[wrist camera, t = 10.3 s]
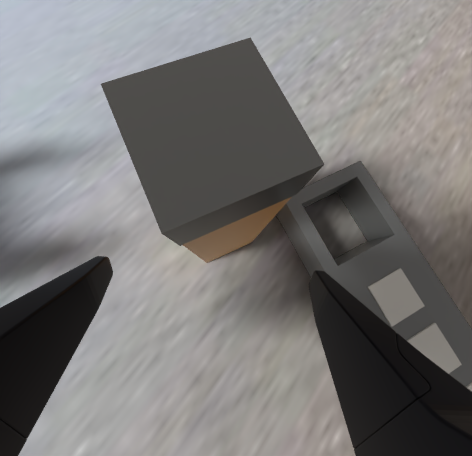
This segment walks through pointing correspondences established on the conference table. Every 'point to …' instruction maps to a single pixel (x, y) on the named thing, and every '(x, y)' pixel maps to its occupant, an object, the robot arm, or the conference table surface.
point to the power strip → (383, 269)
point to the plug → (213, 146)
